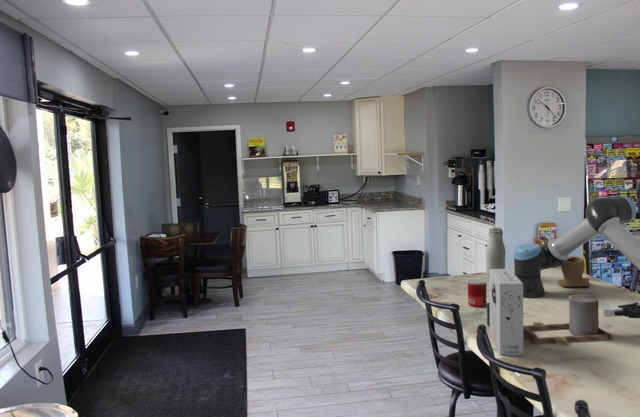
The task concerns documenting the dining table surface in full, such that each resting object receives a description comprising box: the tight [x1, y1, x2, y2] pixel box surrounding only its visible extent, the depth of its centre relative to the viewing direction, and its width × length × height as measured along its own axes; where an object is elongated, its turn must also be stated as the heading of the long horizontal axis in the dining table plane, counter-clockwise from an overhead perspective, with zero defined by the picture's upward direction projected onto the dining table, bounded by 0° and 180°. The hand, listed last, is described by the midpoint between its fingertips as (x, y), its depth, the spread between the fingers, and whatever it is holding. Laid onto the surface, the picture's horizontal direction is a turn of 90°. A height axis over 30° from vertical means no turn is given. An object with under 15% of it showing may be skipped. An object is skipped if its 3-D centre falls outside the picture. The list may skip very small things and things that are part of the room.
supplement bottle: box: [486, 295, 490, 328], centre depth 197 cm, size 7×7×12 cm
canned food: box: [467, 278, 487, 308], centre depth 224 cm, size 8×8×11 cm
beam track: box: [523, 321, 613, 346], centre depth 185 cm, size 29×19×3 cm, turn 92°
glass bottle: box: [485, 227, 506, 278], centre depth 268 cm, size 10×10×28 cm
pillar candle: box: [568, 293, 600, 336], centre depth 185 cm, size 10×10×15 cm
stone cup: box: [557, 255, 591, 288], centre depth 247 cm, size 15×12×15 cm
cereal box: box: [488, 268, 524, 357], centre depth 178 cm, size 22×8×25 cm, turn 170°
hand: (604, 312), depth 185 cm, fingers closed
